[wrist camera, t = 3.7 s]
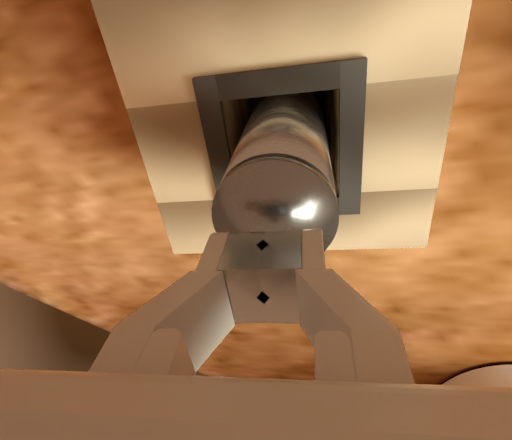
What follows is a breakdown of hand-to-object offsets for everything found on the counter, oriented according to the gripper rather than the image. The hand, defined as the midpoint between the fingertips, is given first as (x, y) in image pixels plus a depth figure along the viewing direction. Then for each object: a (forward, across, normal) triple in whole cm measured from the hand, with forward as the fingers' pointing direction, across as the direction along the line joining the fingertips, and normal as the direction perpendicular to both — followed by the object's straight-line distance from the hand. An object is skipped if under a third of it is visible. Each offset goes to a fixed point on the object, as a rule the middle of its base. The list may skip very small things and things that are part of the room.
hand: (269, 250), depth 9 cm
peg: (+12, 0, 0) cm, 12 cm away
